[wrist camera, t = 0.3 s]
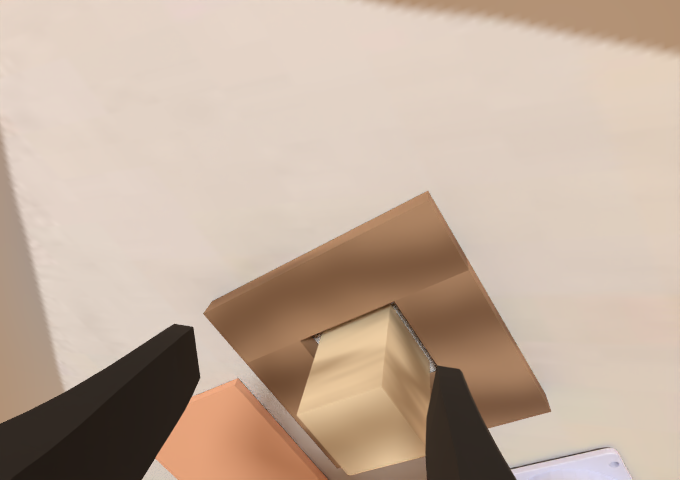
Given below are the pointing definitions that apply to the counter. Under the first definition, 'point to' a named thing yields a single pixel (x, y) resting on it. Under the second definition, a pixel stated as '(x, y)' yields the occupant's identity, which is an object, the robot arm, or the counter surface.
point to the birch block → (368, 393)
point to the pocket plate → (376, 291)
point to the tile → (233, 441)
